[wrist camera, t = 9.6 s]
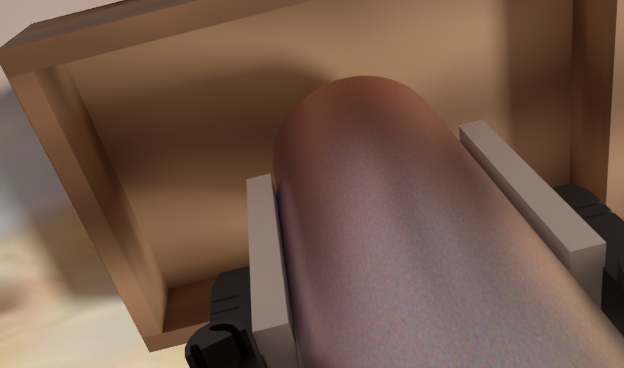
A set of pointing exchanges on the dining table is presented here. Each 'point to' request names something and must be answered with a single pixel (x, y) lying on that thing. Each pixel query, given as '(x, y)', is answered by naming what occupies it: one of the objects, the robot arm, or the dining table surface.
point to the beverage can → (416, 246)
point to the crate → (279, 103)
